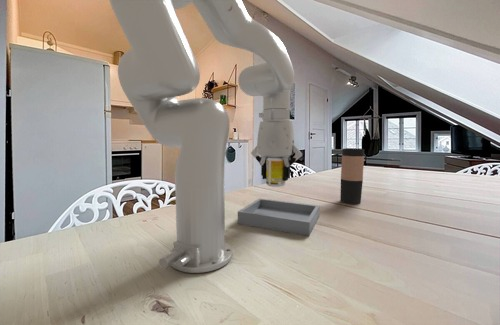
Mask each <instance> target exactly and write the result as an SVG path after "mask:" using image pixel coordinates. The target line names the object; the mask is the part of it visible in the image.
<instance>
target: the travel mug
mask: <svg viewBox="0 0 500 325" xmlns="http://www.w3.org/2000/svg"><path fill="white" fill-rule="evenodd" d="M364 164H365V149H364V148H350V147H349V148H348V147H347V148H346V147H345V148H342V153H341V167H340V169H341V170H340V195H339V196H340V197H339V198H340V202H341V203H344V204H347V205H348V204H349V205H359V204H361V202H362V194H363V192H362V191H363V184H364V182H363V181H364Z"/></svg>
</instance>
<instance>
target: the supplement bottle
mask: <svg viewBox="0 0 500 325" xmlns="http://www.w3.org/2000/svg"><path fill="white" fill-rule="evenodd" d="M283 167H285V163H284V160H283V157H267V159H266V179H265V183H266V185H267V187H272V188H273V187H274V188H276V187H277V188H279V187H280V188H281V187H284V186H285V185H286V181H284V180H283Z"/></svg>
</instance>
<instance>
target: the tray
mask: <svg viewBox="0 0 500 325" xmlns="http://www.w3.org/2000/svg"><path fill="white" fill-rule="evenodd" d="M320 207H321V206H320V205H316V204H308V203H301V202H293V201H282V200H275V199H269V198H267V199H266V198H257V199H256V200H254V201H253V202H251V203H250V204H248V205H245V206H244V207H243V208H241V209H240V210H238V211H237V224H238V225H243V226H251V227H254V228H260V229H266V230H272V231H278V232H284V233H288V234H295V235H301V236H307V237H310V235H311V234H312V231H313V230H314V228H315V226H316V224H317V222H318V220H319V218H320V209H321V208H320Z"/></svg>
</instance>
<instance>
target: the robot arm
mask: <svg viewBox="0 0 500 325" xmlns="http://www.w3.org/2000/svg"><path fill="white" fill-rule="evenodd" d="M109 3H110V6H111V8H112V11H113V13H114V15H115V17H116V19H117V22H118V23H119V25H120V28H121V29H122V32H123V34H124V36H125V39H126V40H127V42H128V44H129V46H130V49H128V50H126V51H125V52H124V54H122V56H121V57H120V59H119V61H118V64H117V77H118V80H119V81H118V82H119V84H120V87H121V89H122V92H123V93H124V95H125V96H126V98H127V100H128V101H129V103H130V105H131V106H132V107H133V109H134V111H135V112H136V114H137V116H138V117H139V119H140V121H141V122H142V124H143V125H144V127H145V128H146V130H147V131H148V132H149V134H150V136H151V137H152V138H153V139H154V140H155V141H156V142H157V143H159V144H160V145H162V146H165V147H169V148H179V149H180V151H179V154H178V157H177V159H176V164H175V167H174V187H175V189H174V190H175V191H174V192H175V215H176V216H175V220H176V221H175V222H176V223H175V224H176V225H175V226H176V227H175V228H176V230H175V231H176V241H174V242H173V248H172V249H171V251H170V252H169V253H167V254H166V255H164V256H162V257H160V258H159V260H158V263H159V267H160V268H162V269H164V270H165V269H168V268H169V267H172V268H173V269H175V270H177V271H180V272H183V273H190V274H201V273H202V274H203V273H208V272H213V271H215V270H218V269H220V268H222V267H224V266H227V264H228V263H230V261H231V260H232V257H233V248H232V247H231V245H230V244H229V243H227V242H226V240H225V239H226V237H225V233H226V229H225V228H226V224H225V220H226V219H225V218H226V216H225V215H226V214H225V211H226V210H225V209H226V208H225V199H226V198H225V196H226V195H225V160H226V150H227V145H228V144H227V143H228V139H229V132H230V118H229V117H230V116H229V114H228V112H227V110H226V108H225V107H224V105H223V104H221V103H220V102H218V101H216V100H215V99H211V98H208V97H207V98H205V97H198V98H188V99H187V98H186V99H182V100H178V98H177V97H183V96H185V95H187V94H190V93H192V92H193V91H194V90H196V88H197V87H198V85H199V83H200V80H201V72H200V68H199V65H198V63H197V59H196V57H195V55H194V52H193V50H192V48H191V45H190V43H189V41H188V38H187V36H186V34H185V31H184V30H183V27H182V24H181V22H180V19H179V17H178V15H177V13H176V10H179V9H183V8H185V7H187V6H189V5H191V4H193V5H194V8H195V9H196V10H197V12H198V13H199V15H200V16H201V18H202V20H203V22H204V23H205V24H206V26H207V28H208V29H209V30H210V33H211V34H212V36H213V37H214V39H215V40H216V41H217V43H220V44H223V45H225V46H229V47H232V48H236V49H241V50H244V51H245V50H246V51H248V52H251V53H253V54H255V55H257V56H259V57H260V58H262V60H264V63H260V64H254V65H250V66H248V67H247V66H246V67H245V68H244V69H242V70H241V71H240V73H239V76H238V80H237V81H238V87H239V89H240V90H241V92H242V93H244V94H246V95H247V96H250V97H262V98H263V100H262V101H263V103H262V104H263V106H262V108H263V109H262V112H259V113H258V118H261V119H262V121H260V122H259V126H258V131H257V132H258V133H257V138H256V139H257V142H256V146H255V147H254V148H253V149H252V151H251V152H250V154H251V155H252V156H253V158H255V159H256V160H257V162H258V163H259V165H260V166H261V169H260V170H261V171H260V172H261V176H262V180H266V159H267V157H283V160H284V163H285V167H283V180H284V181H285V182H286V181H288V180H289V179H290V178H291V166H292V165H293V164H294V163H295V162H296V161H297V160H299V159H300V158H301V157H303V153H302V151H300V149H299V148H298V147H297V146H296V145H295V134H294V133H295V132H294V126H293V121H291V117H290V116H291V89H292V88H293V86H294V83H295V79H296V78H295V70H294V67H293V63H292V60H291V59H290V55H289V54H288V52H287V49H286V46H285V45H284V43H283V42H282V41H281V39H280V38H279V37H278V36H277V35H276V34H275V33H273V32H272V31H271V29H268V28H267V27H266V26H264V25H263V24H261V23H259V22H258V21H256V20H255V19H254V18H252V17H251V16H250V15H249V13H248V12H247V9H246V6H245V5H244V3H243V1H242V0H109ZM293 155H294V156H293ZM291 156H293V157H291Z"/></svg>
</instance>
